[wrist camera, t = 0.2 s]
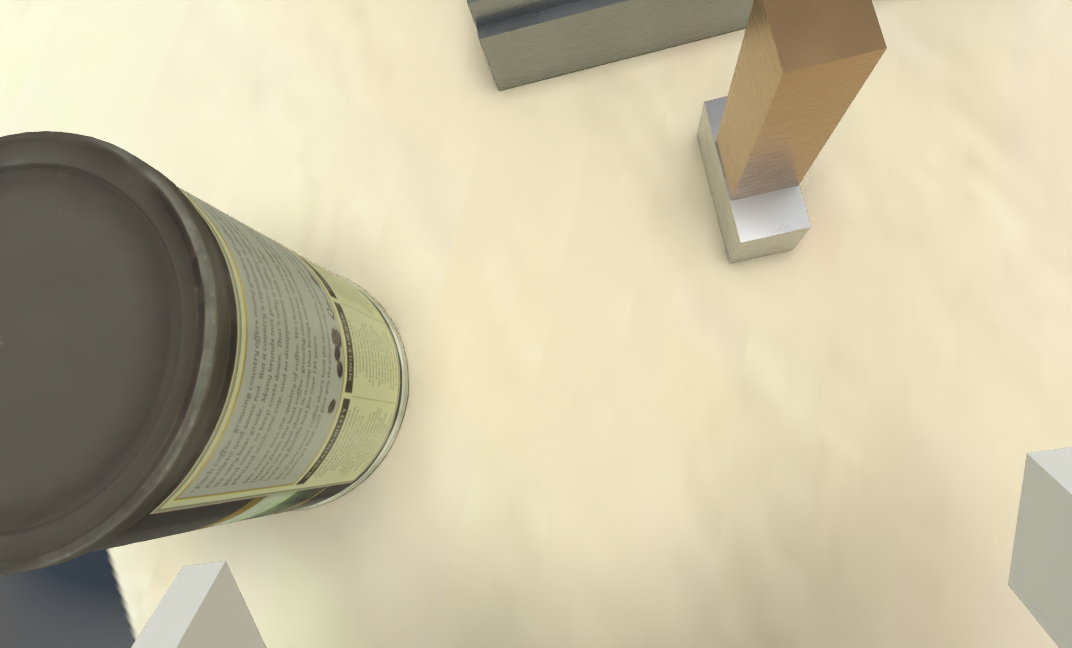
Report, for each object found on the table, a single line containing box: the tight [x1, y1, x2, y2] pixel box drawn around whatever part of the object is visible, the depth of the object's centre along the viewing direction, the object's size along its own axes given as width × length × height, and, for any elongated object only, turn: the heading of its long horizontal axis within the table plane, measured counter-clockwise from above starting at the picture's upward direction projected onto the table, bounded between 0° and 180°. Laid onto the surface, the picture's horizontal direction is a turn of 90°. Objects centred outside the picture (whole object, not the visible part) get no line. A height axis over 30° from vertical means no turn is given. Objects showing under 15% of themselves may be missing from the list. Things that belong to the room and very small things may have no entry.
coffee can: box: [0, 131, 408, 575], centre depth 23 cm, size 10×10×14 cm
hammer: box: [697, 0, 887, 263], centre depth 22 cm, size 6×2×12 cm, turn 11°
